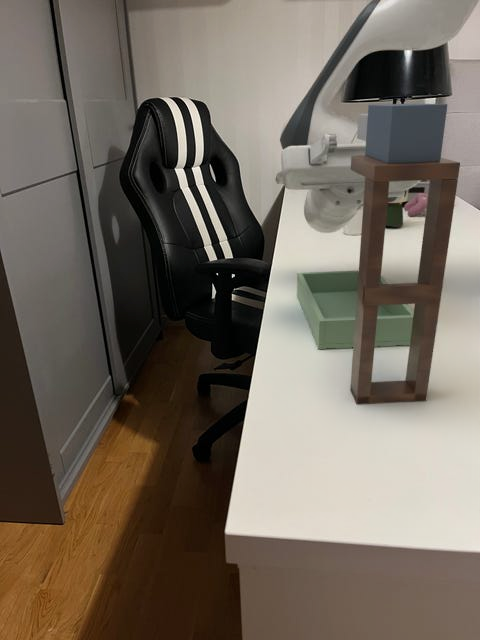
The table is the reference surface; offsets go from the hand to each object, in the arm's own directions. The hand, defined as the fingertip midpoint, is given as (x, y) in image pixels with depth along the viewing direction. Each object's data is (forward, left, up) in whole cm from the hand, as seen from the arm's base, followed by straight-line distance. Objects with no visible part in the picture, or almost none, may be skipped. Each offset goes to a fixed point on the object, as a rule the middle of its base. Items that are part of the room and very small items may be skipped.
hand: (369, 138), depth 61 cm
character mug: (-26, -65, -27) cm, 75 cm away
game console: (-35, -99, -27) cm, 109 cm away
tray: (-1, -7, -27) cm, 28 cm away
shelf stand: (0, +12, -27) cm, 30 cm away
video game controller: (-38, -79, -27) cm, 92 cm away
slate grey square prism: (0, +8, -1) cm, 8 cm away
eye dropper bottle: (-15, -59, -27) cm, 67 cm away
